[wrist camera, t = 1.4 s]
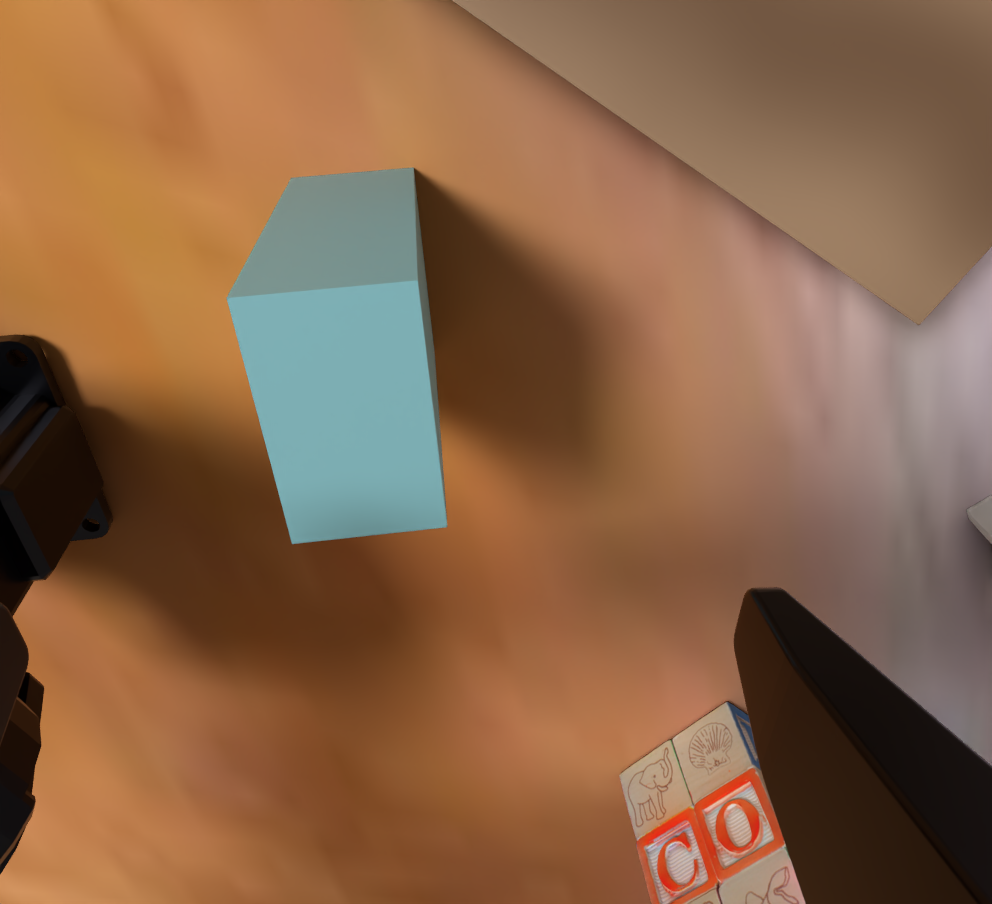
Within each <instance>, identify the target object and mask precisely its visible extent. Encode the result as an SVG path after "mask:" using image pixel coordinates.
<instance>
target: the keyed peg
mask: <svg viewBox="0 0 992 904" xmlns="http://www.w3.org/2000/svg"><path fill="white" fill-rule="evenodd" d="M227 301H228V305H229V309H230V312H231V316H232V320H233V324H234V327H235V331H236V335H237V339H238V343H239V346H240V350H241V354H242V358H243V361H244V365H245V369H246V373H247V376H248V380H249V384H250V388H251V391H252V395H253V399H254V403H255V406H256V410H257V414H258V418H259V421H260V425H261V429H262V433H263V437H264V440H265V444H266V448H267V452H268V455H269V459H270V463H271V467H272V470H273V474H274V478H275V482H276V485H277V489H278V493H279V497H280V500H281V504H282V508H283V512H284V516H285V519H286V523H287V527H288V531H289V534H290V538H291V542H292V544H297V543H306V542H315V541H324V540H334V539H343V538H352V537H361V536H370V535H379V534H389V533H398V532H407V531H416V530H425V529H435V528H444V527H447V515H446V501H445V488H444V474H443V460H442V446H441V433H440V419H439V405H438V392H437V378H436V364H435V351H434V342H433V333H432V325H431V316H430V307H429V298H428V289H427V281H426V272H425V263H424V254H423V246H422V237H421V228H420V219H419V210H418V202H417V193H416V184H415V175H414V168H403V169H391V170H379V171H367V172H356V173H344V174H332V175H320V176H309V177H297V178H291V179H290V181H289V183H288V185H287V187H286V189H285V190H284V192H283V194H282V196H281V198H280V200H279V202H278V203H277V205H276V207H275V209H274V211H273V213H272V215H271V217H270V218H269V220H268V222H267V224H266V226H265V228H264V230H263V231H262V233H261V235H260V237H259V239H258V241H257V243H256V244H255V246H254V248H253V250H252V252H251V254H250V256H249V257H248V259H247V261H246V263H245V265H244V267H243V269H242V270H241V272H240V274H239V276H238V278H237V280H236V282H235V283H234V285H233V287H232V289H231V291H230V293H229V295H228V296H227Z"/></svg>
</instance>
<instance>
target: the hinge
mask: <svg viewBox="0 0 992 904" xmlns="http://www.w3.org/2000/svg"><path fill="white" fill-rule="evenodd" d="M967 514H968V518H969V520H970V521H971V522H972V523H973V524H974V525H975V526H976V528H977V529H978V530H979V531H980V532H981V533H982V534H983V535H984V536H985V538H986V539H987V540H988V541H989V542H990V543H991V544H992V495H991V496H989V497H987V498H985V499H984V500H982V501H980V502H979V503H977V504H975V505H974V506H972V507H970V508H968V509H967Z"/></svg>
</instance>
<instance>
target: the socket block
mask: <svg viewBox="0 0 992 904" xmlns="http://www.w3.org/2000/svg"><path fill="white" fill-rule="evenodd" d="M452 1H454V2H455V3H456V4H458V5H459V6H461V7H462V8H464V9H465V10H467V11H468V12H469V13H471V14H472V15H474V16H475V17H477V18H478V19H479V20H481V21H482V22H484V23H485V24H487V25H488V26H490V27H491V28H492V29H494V30H495V31H497V32H498V33H500V34H501V35H502V36H504V37H505V38H507V39H508V40H510V41H511V42H512V43H514V44H515V45H517V46H518V47H520V48H521V49H523V50H524V51H525V52H527V53H528V54H530V55H531V56H533V57H534V58H535V59H537V60H538V61H540V62H541V63H543V64H544V65H546V66H547V67H548V68H550V69H551V70H553V71H554V72H556V73H557V74H558V75H560V76H561V77H563V78H564V79H566V80H567V81H569V82H570V83H571V84H573V85H574V86H576V87H577V88H579V89H580V90H581V91H583V92H584V93H586V94H587V95H589V96H590V97H591V98H593V99H594V100H596V101H597V102H599V103H600V104H602V105H603V106H604V107H606V108H607V109H609V110H610V111H612V112H613V113H614V114H616V115H617V116H619V117H620V118H622V119H623V120H625V121H626V122H627V123H629V124H630V125H632V126H633V127H635V128H636V129H637V130H639V131H640V132H642V133H643V134H645V135H646V136H647V137H649V138H650V139H652V140H653V141H655V142H656V143H658V144H659V145H660V146H662V147H663V148H665V149H666V150H668V151H669V152H670V153H672V154H673V155H675V156H676V157H678V158H679V159H681V160H682V161H683V162H685V163H686V164H688V165H689V166H691V167H692V168H693V169H695V170H696V171H698V172H699V173H701V174H702V175H704V176H705V177H706V178H708V179H709V180H711V181H712V182H714V183H715V184H716V185H718V186H719V187H721V188H722V189H724V190H725V191H726V192H728V193H729V194H731V195H732V196H734V197H735V198H737V199H738V200H739V201H741V202H742V203H744V204H745V205H747V206H748V207H749V208H751V209H752V210H754V211H755V212H757V213H758V214H760V215H761V216H762V217H764V218H765V219H767V220H768V221H770V222H771V223H772V224H774V225H775V226H777V227H778V228H780V229H781V230H783V231H784V232H785V233H787V234H788V235H790V236H791V237H793V238H794V239H795V240H797V241H798V242H800V243H801V244H803V245H804V246H805V247H807V248H808V249H810V250H811V251H813V252H814V253H816V254H817V255H818V256H820V257H821V258H823V259H824V260H826V261H827V262H828V263H830V264H831V265H833V266H834V267H836V268H837V269H839V270H840V271H841V272H843V273H844V274H846V275H847V276H849V277H850V278H851V279H853V280H854V281H856V282H857V283H859V284H860V285H861V286H863V287H864V288H866V289H867V290H869V291H870V292H872V293H873V294H874V295H876V296H877V297H879V298H880V299H882V300H883V301H884V302H886V303H887V304H889V305H890V306H892V307H893V308H895V309H896V310H897V311H899V312H900V313H902V314H903V315H905V316H906V317H907V318H909V319H910V320H912V321H913V322H915V323H916V324H918V325H920V324H921V322H922V321H923V320H924V319H925V318H926V317H927V316H928V315H929V314H930V313H931V312H932V311H933V309H934V308H935V307H936V306H937V305H938V304H939V303H940V302H941V301H942V300H943V299H944V298H945V296H946V295H947V294H948V293H949V292H950V291H951V290H952V289H953V288H954V287H955V286H956V285H957V283H958V282H959V281H960V280H961V279H962V278H963V277H964V276H965V275H966V274H967V273H968V272H969V270H970V269H971V268H972V267H973V266H974V265H975V264H976V263H977V262H978V261H979V260H980V258H981V257H982V256H983V255H984V254H985V253H986V252H987V251H988V250H989V249H990V248H991V247H992V0H452Z"/></svg>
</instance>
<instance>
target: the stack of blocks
mask: <svg viewBox="0 0 992 904" xmlns="http://www.w3.org/2000/svg"><path fill="white" fill-rule="evenodd" d="M619 777H620V780H621V785H622V789H623V793H624V797H625V801H626V805H627V809H628V813H629V816H630V819H631V823H632V827H633V829H634V833H635V837H636V839H637V842H636V847H637V851H638V855H639V858H640V862H641V866H642V870H643V873H644V877H645V880H646V884H647V889H648V893H649V897H650V900H651V904H805V901H804V898H803V895H802V892H801V889H800V886H799V883H798V880H797V877H796V874H795V871H794V868H793V865H792V862H791V860H790V857H789V854H788V851H787V848H786V845H785V842H784V839H783V836H782V833H781V830H780V827H779V824H778V821H777V818H776V815H775V812H774V809H773V806H772V803H771V800H770V797H769V794H768V791H767V788H766V785H765V782H764V779H763V775H762V772H761V769H760V765H759V761H758V757H757V752H756V748H755V743H754V739H753V734H752V730H751V725H750V720H749V716H748V715H747V714H745V713H744V712H743V711H741V710H740V709H738V708H737V707H735V706H734V705H732V704H730V703H729V702H726V703H724V704H722V705H721V706H719V707H718V708H716V709H715V710H713V711H712V712H710V713H709V714H707V715H706V716H704V717H703V718H701V719H700V720H698V721H697V722H695V723H694V724H692V725H691V726H690V727H688V728H687V729H685V730H684V731H682V732H681V733H679V734H678V735H676V736H675V737H674V738H673V739H672V740H669V741H667V742H665V743H663V744H662V745H661V746H659V747H658V748H656V749H655V750H653V751H652V752H651V753H649V754H648V755H646V756H645V757H643V758H642V759H640V760H639V761H637V762H636V763H634V764H633V765H632V766H630V767H629V768H627V769H626V770H625V771H624V772H622V773H621V774H620V776H619Z"/></svg>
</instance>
